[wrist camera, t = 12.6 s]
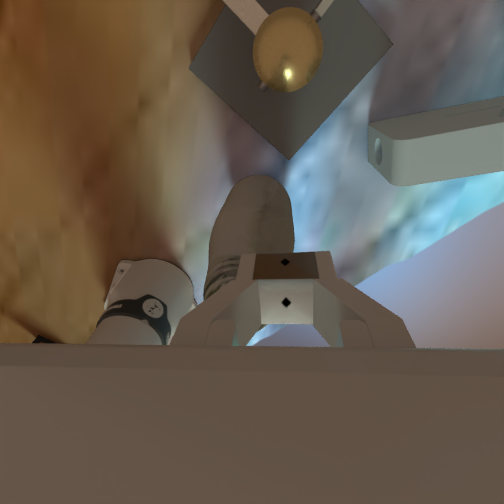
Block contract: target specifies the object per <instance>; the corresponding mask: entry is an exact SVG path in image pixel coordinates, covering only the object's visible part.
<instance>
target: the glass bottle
mask: <svg viewBox="0 0 504 504" xmlns="http://www.w3.org/2000/svg"><path fill="white" fill-rule="evenodd" d="M294 241H295V238H294V225H293V218H292V207H291V201H290V198H289V195H288V193H287V191H286V190H285V188H284V187H283V186H282V185H281V184H280V183H279V182H278V181H276V180H275V179H273V178H271V177H270V176H265V175H252V176H249V177H246V178H244V179H242V180H241V181H239V182H238V183H237V184H236V185H235V186H234V187H233V188H232V190H231V191H230V193H229V195H228V197H227V199H226V201H225V203H224V205H223V207H222V209H221V211H220V212H219V215H218V217H217V219H216V221H215V224H214V226H213V229H212V233H211V237H210V242H209V265H208V271H207V276H206V281H205V285H204V294H203V296H204V301H205V300H206V299H207V298H209V297H210V296H211V295H213V294H214V293H215V292H217V291H218V290H219V289H221V288H222V287H223V286H225V285H226V284H227V283H229V282H230V281H231V280H236V275H237V271H238V267H239V262H240V258H241V255H242V254H243V253H256V254H257V253H293V251H294ZM261 325H262V326H261V327H260V328H259V329H258V331H259V330H261V329H262V328H264V327H265V326H266V325H267V324H261Z"/></svg>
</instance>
